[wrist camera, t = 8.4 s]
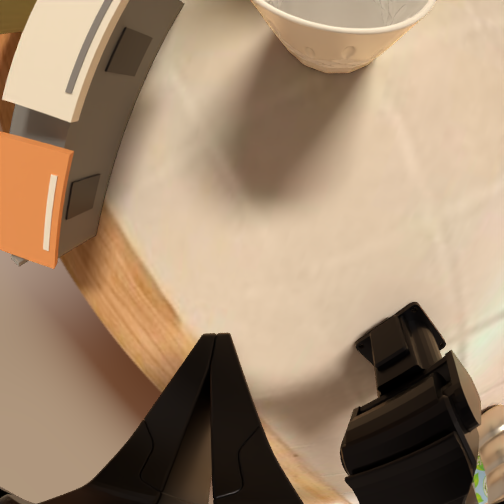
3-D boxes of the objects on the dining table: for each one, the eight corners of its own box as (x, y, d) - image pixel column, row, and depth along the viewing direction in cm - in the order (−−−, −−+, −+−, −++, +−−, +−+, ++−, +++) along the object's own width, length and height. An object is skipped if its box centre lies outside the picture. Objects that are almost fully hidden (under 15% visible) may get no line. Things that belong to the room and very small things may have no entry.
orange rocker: (74, 151, 15) (69, 155, 14) (57, 262, 19) (53, 269, 18) (-5, 130, 12) (-12, 133, 11) (-10, 239, 16) (-14, 245, 15)
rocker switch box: (217, -42, 13) (165, -99, 5) (97, 236, 25) (30, 278, 17) (142, -47, 13) (81, -82, 5) (47, 199, 25) (-17, 228, 17)
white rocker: (142, -22, 9) (137, -27, 8) (78, 121, 13) (70, 122, 12) (59, -26, 7) (52, -29, 7) (9, 98, 12) (1, 99, 11)
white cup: (400, 13, 12) (448, -56, 3) (368, 101, 16) (414, 72, 7) (293, -25, 13) (267, -110, 4) (256, 59, 16) (197, 3, 7)
